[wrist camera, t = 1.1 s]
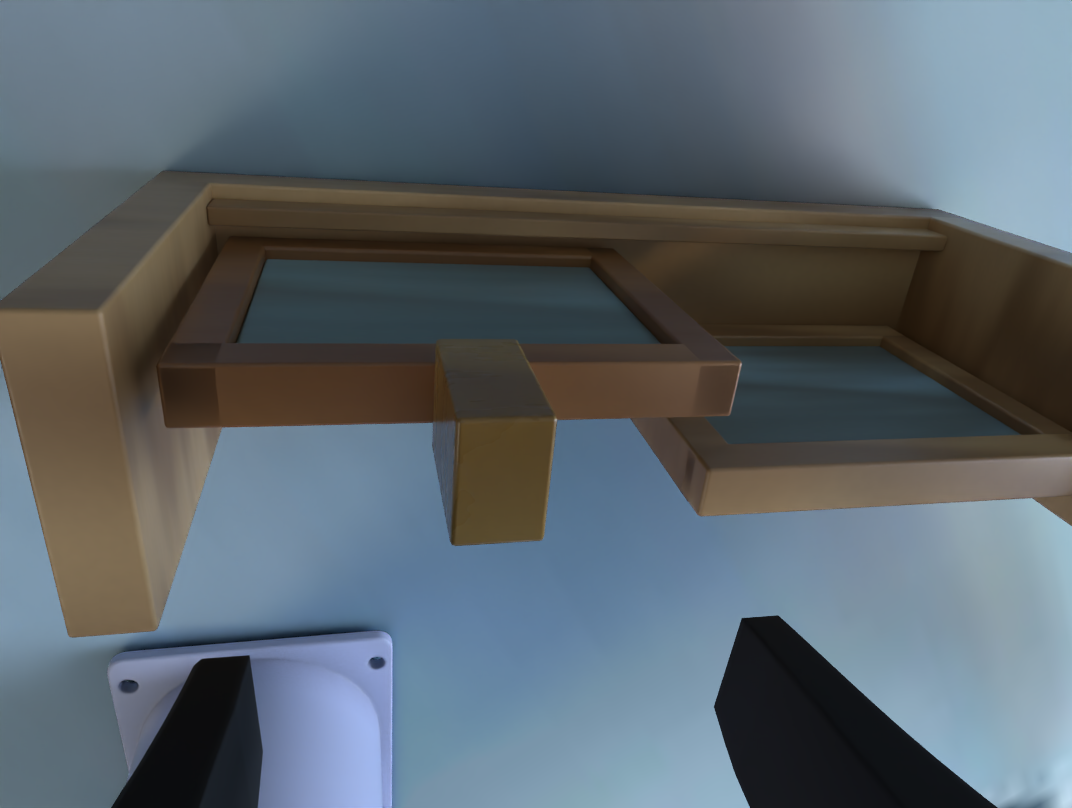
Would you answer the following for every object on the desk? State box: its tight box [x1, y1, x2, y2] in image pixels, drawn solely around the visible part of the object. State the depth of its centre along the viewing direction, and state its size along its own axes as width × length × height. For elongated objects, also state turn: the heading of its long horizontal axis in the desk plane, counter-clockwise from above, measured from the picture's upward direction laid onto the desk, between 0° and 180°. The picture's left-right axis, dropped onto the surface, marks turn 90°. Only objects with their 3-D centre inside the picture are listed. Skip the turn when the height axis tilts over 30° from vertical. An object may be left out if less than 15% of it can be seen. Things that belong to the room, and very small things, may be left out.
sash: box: [156, 236, 742, 546], centre depth 13 cm, size 2×9×9 cm, turn 85°
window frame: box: [0, 171, 1072, 637], centre depth 16 cm, size 5×20×9 cm, turn 85°
